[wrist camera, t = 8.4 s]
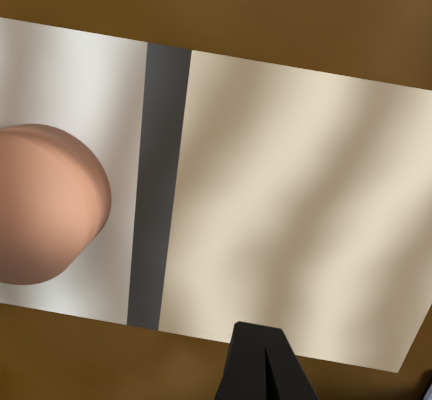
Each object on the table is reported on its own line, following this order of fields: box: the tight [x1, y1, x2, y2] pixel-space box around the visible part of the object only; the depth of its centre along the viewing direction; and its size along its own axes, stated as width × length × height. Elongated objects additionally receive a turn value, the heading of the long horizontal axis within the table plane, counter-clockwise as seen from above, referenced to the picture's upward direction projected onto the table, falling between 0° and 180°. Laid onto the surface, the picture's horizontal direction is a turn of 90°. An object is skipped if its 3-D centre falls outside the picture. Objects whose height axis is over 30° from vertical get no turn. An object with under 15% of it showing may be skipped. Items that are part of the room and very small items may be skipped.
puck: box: [0, 124, 112, 285], centre depth 16 cm, size 7×7×4 cm
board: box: [0, 17, 432, 373], centre depth 18 cm, size 31×16×1 cm, turn 81°
